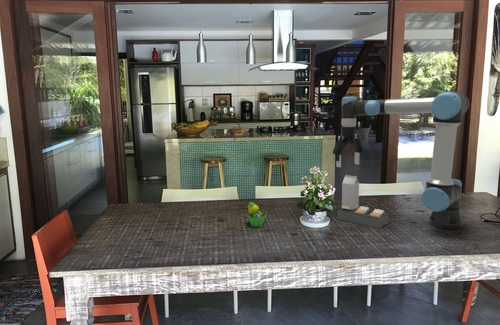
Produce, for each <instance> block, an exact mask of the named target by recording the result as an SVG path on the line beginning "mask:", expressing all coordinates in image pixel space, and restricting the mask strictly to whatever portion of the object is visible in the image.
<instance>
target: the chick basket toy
mask: <svg viewBox="0 0 500 325" xmlns="http://www.w3.org/2000/svg"><path fill="white" fill-rule="evenodd" d="M247 208H248V213H249V215H248V219H249V222H250V226H251V227H258V228H259V227H260V228H261V227H262V226H263V224H264V222H265V219H266V216H267V211H266V210H263V211H262V210H259V209H260V207H259V206H258V205H257V204H255V203H254V202H252V201H251V202H248V205H247Z"/></svg>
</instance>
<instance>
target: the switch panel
mask: <svg viewBox="0 0 500 325" xmlns="http://www.w3.org/2000/svg"><path fill="white" fill-rule="evenodd" d="M358 209H359V207H358V208H355V209H354V210H350V209H345V208H343V209H342V208H340V209H338V211H337V213H336V214H337V216H336V217H337V218H336V219H337V220H339V221H340V220H341V221H346V222H348V223H353V224H358V225H363V226H367V227H371V228H375V229H380V228H382V227H384V226H386V225H387V224H389V215H388V214H387V213H383V214H382V215H381V216H380V217H379V218H378V217H373V216H370V214H371V213H372V212H373V211H374V210H373V211H371V210H368V211H367V212H366V213H365V214H364V215H363V214H358V213H355V211H357V210H358Z"/></svg>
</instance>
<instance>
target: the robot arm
mask: <svg viewBox="0 0 500 325" xmlns="http://www.w3.org/2000/svg"><path fill="white" fill-rule="evenodd" d="M469 107H470V101H469V98H468V97H467V96H466V95H465V93H462V92H460V91H445V92H442V93H439V94H438V95H436V96H435V97H434V96H433V97H414V98H413V97H411V98H392V99H391V98H389V99H373V100H372V99H370V100H369V99H367V100H366V99H365V100H358V99H357V97H356V96H343V97H342V99H341V127H340V128H341V130H340V131H341V132H340V133H341V134H342V135H337V137H336V138H337V139H336V142H335V145H334V148H333V150H332V154H333V155H335V162H336V163H335V164H336V165H335V167H336V168H342V155H341V154H342V152H343V150H344V149H345V147H346V146H347V145H350V144H351V146H352V148H353V149H354V151H355V152H354V165H358V166H359V165H360V158H361V153H362V152H363V151H364V148H363V145H362V143H361V142H362V141H361V139H360V134H357V127H356V126H357V116H369V117H370V116H377V115H393V114H396V115H397V114H399V115H400V114H403V115H404V114H432V115H433V116H432V123H433V124H434V125H435V131H434V141H433V149H432V159H431V169H430V177H428V178H427V179H426V182H425V189H424V190H423V191H422V194H421V201H422V204H423V206H424V207H425V208H426V209H428V210H429V211H431V212H430V215H429V218H428V223H429V224H430V225H431V226H433V227H437V228H441V229H446V230H456V229H461V228H463V226H464V221H463V216H462V214H461V200H462V187H463V185H462V184H463V183H462V181H461V180H460V179H455V178H452V173H453V163H454V158H455V157H454V156H455V150H456V149H455V148H456V139H457V129H458V127H459V126H460V125H461V124H462V123H463V122H462V120H463V115H464V114H465V113H466V112H467V111H468V109H469Z"/></svg>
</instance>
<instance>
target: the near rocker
mask: <svg viewBox="0 0 500 325" xmlns="http://www.w3.org/2000/svg"><path fill="white" fill-rule="evenodd" d="M382 214H385V210H383V209H377V208H375V209H373V212H372V213H371V214H370V216H373V217H378V218H379V217H380V216H381V215H382Z"/></svg>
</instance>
